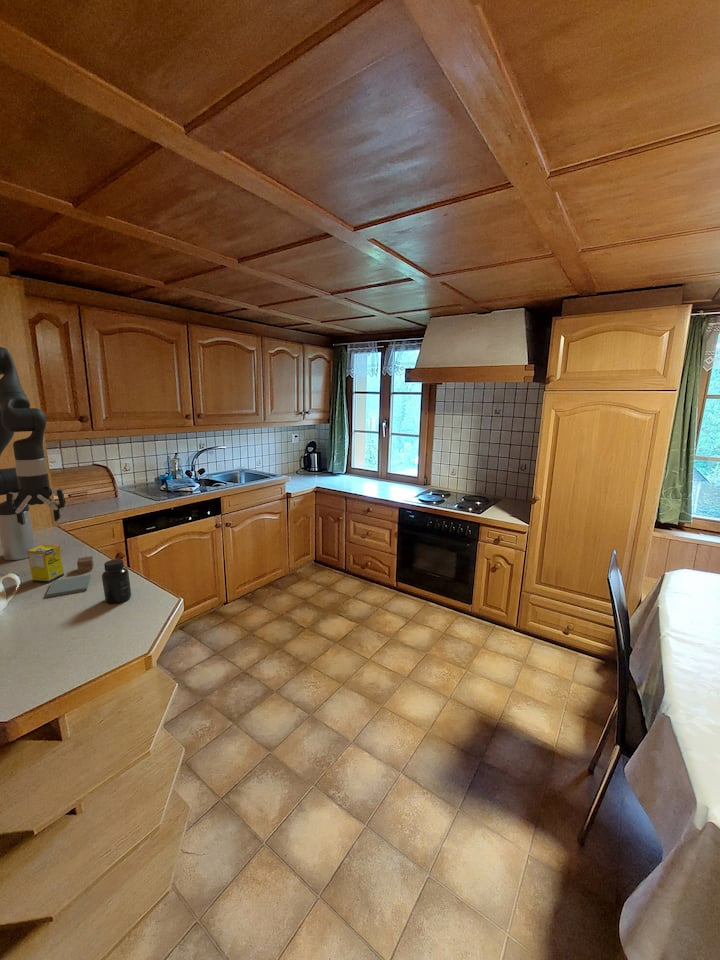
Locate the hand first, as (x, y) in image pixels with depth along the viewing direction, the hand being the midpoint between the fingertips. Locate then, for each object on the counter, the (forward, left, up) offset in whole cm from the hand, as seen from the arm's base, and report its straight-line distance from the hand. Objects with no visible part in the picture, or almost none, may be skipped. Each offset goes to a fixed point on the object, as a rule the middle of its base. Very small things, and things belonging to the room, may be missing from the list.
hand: (40, 522), depth 125 cm
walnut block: (-3, +10, -20) cm, 22 cm away
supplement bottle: (+25, +21, -20) cm, 38 cm away
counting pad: (+10, +7, -20) cm, 23 cm away
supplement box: (0, 0, -20) cm, 20 cm away
